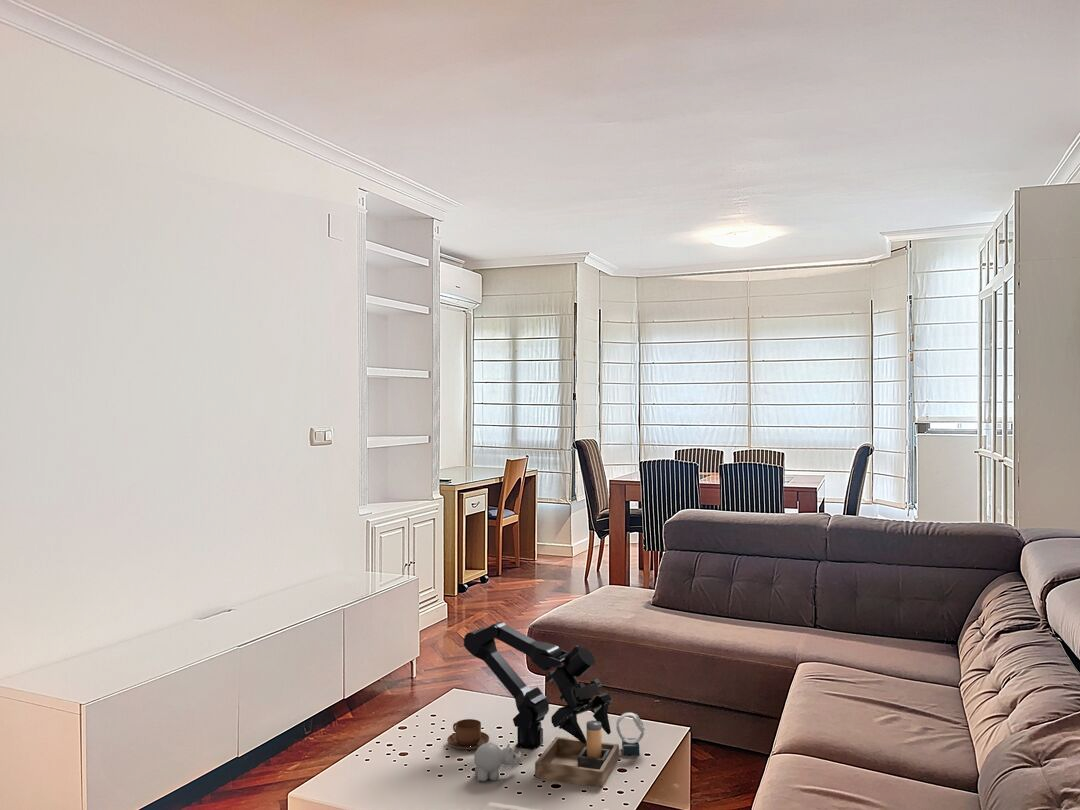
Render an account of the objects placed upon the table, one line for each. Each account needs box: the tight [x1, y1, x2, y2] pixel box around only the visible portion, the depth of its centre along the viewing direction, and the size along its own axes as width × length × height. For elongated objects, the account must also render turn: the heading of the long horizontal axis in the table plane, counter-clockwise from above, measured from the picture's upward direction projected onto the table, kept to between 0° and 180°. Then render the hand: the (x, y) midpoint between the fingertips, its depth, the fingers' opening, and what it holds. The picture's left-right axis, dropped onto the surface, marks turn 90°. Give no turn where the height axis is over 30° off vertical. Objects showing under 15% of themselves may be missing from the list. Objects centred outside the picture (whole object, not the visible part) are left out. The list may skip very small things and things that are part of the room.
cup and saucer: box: [446, 718, 490, 751], centre depth 240 cm, size 12×12×6 cm
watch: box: [616, 712, 646, 756], centre depth 233 cm, size 6×8×11 cm
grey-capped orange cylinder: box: [586, 720, 602, 759], centre depth 225 cm, size 4×4×11 cm
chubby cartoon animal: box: [473, 742, 522, 782], centre depth 219 cm, size 8×12×9 cm, turn 103°
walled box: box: [534, 736, 620, 788], centre depth 222 cm, size 18×18×4 cm
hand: (597, 738), depth 224 cm, fingers open, 9 cm apart
